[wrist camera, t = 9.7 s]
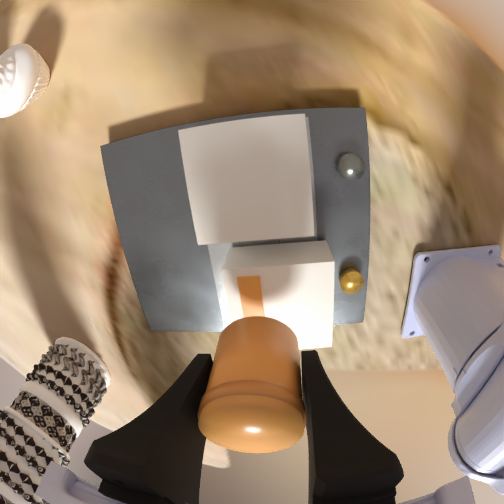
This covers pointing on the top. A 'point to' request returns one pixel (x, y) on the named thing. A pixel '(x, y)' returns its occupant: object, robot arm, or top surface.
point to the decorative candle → (48, 417)
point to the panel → (213, 255)
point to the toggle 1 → (249, 179)
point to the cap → (254, 388)
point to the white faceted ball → (21, 78)
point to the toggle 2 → (284, 287)
